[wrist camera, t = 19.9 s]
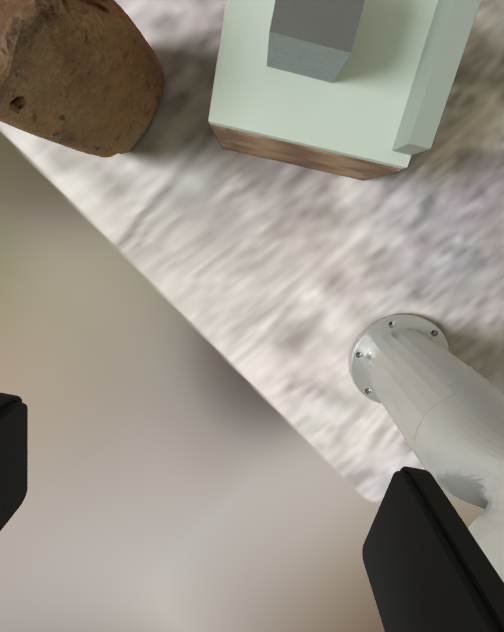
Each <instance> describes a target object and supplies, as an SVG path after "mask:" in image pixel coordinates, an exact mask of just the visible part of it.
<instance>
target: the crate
mask: <svg viewBox="0 0 504 632" xmlns="http://www.w3.org/2000/svg"><path fill="white" fill-rule="evenodd" d="M210 127H211V129H212V130H213V132H214V134H215V136H216V138H217V140H218V141H219V143H220V145H221V147H222V148H224V149H229V150H233V151H237V152H242V153H246V154H250V155H255V156H259V157H263V158H268V159H272V160H276V161H281V162H285V163H289V164H294V165H298V166H302V167H307V168H311V169H315V170H320V171H324V172H328V173H333V174H337V175H341V176H346V177H350V178H354V179H359V180H367V179H371V178H375V177H379V176H382V175H386V174H390V173H394V172H398V171H400V170H401V169H399V168H395V167H391V166H387V165H382V164H378V163H374V162H370V161H365V160H361V159H357V158H352V157H348V156H344V155H340V154H335V153H331V152H327V151H323V150H318V149H314V148H310V147H305V146H301V145H297V144H293V143H288V142H284V141H280V140H276V139H271V138H267V137H263V136H258V135H254V134H250V133H246V132H241V131H237V130H233V129H229V128H224V127H220V126H216V125H211V126H210Z"/></svg>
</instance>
